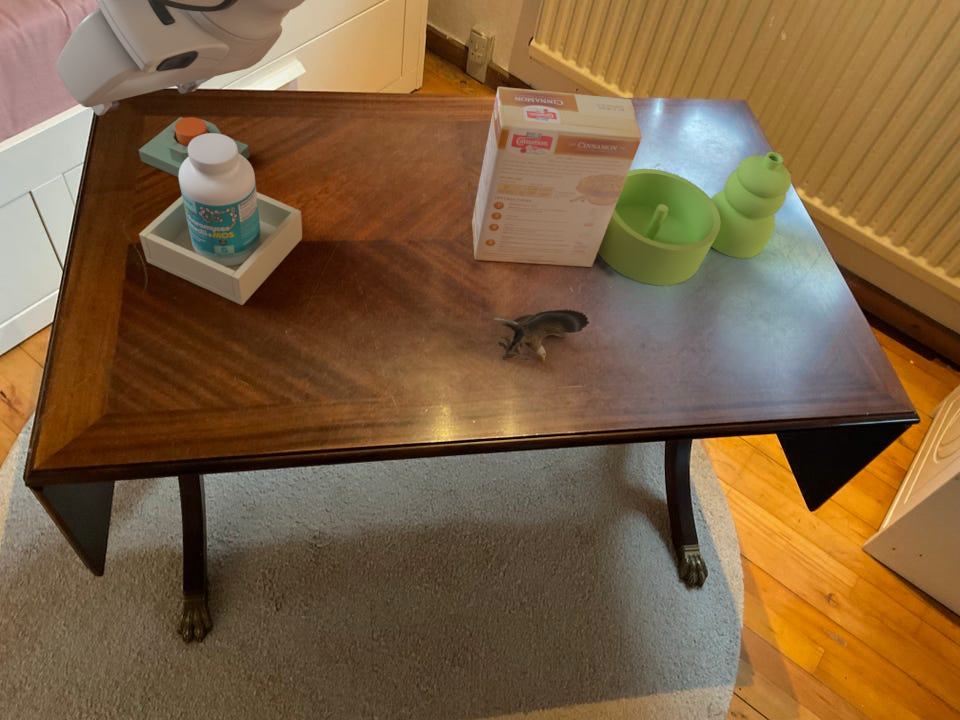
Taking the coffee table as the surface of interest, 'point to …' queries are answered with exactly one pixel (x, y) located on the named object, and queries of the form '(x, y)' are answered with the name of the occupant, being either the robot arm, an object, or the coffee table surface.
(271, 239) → the cream square open box
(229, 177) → the pill bottle
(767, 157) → the food container
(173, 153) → the panel
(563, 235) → the coffeecake box
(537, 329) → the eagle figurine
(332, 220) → the coffee table surface
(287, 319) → the coffee table surface
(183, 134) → the button
